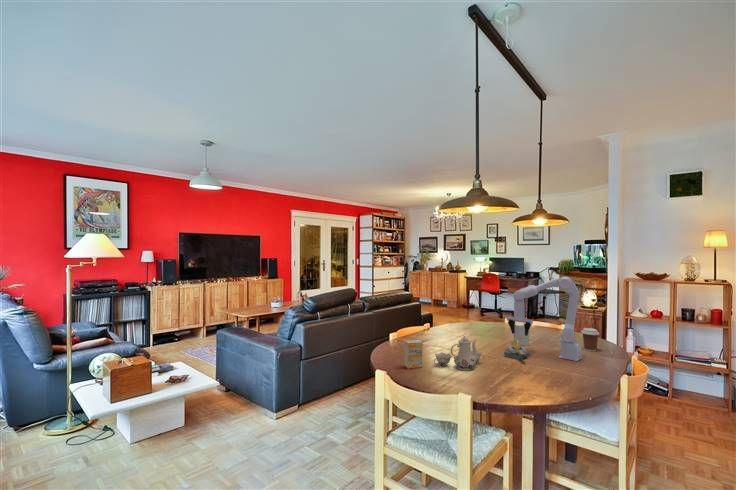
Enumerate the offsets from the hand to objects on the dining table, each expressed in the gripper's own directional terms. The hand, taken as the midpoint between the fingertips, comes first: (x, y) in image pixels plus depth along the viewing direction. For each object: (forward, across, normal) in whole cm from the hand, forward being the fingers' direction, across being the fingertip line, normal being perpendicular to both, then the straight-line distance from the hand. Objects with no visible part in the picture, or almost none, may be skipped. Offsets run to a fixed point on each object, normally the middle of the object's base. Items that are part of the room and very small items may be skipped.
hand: (519, 334), depth 209 cm
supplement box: (+10, +28, +64) cm, 71 cm away
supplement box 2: (+10, +6, -16) cm, 20 cm away
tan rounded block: (+10, -3, +11) cm, 15 cm away
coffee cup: (+10, -28, -32) cm, 44 cm away
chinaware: (+10, +11, +46) cm, 48 cm away
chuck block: (+10, -3, +11) cm, 15 cm away
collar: (+7, -6, +15) cm, 17 cm away
